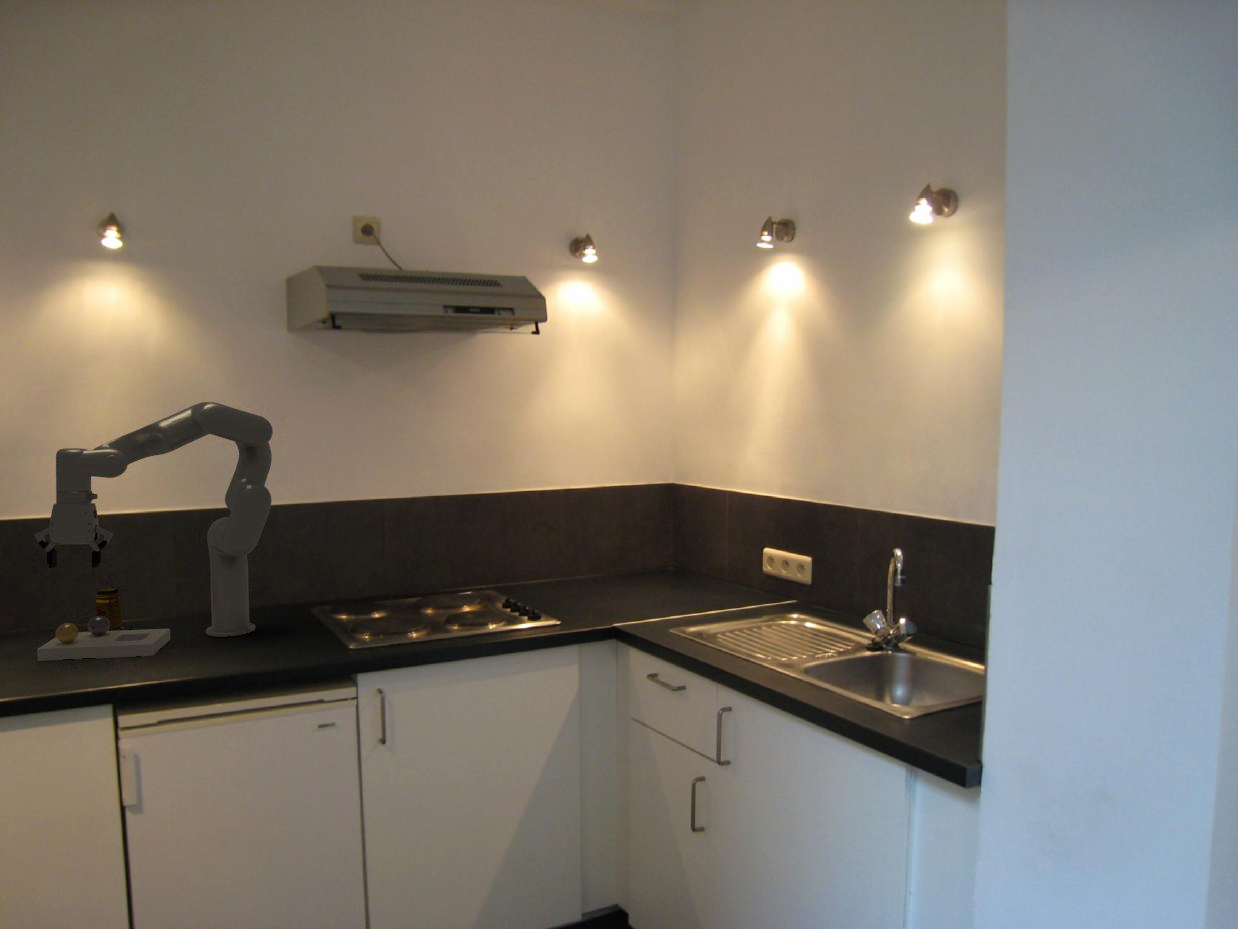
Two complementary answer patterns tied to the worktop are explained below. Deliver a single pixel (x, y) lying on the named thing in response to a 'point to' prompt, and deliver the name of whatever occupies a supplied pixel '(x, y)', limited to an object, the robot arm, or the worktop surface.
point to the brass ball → (67, 632)
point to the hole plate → (106, 645)
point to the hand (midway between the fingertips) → (74, 567)
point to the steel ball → (98, 625)
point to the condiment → (109, 607)
